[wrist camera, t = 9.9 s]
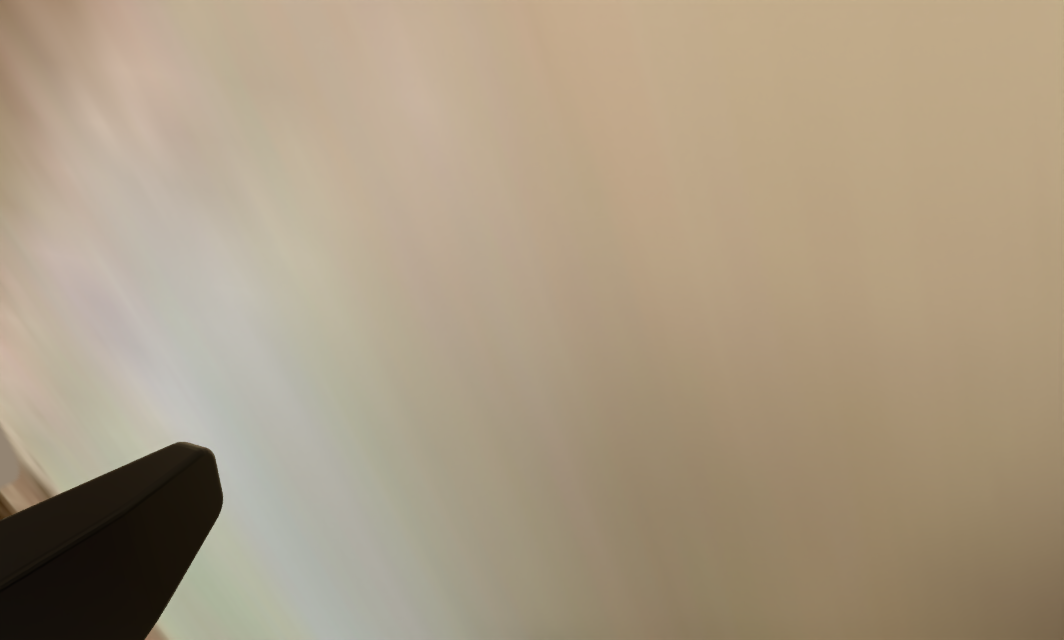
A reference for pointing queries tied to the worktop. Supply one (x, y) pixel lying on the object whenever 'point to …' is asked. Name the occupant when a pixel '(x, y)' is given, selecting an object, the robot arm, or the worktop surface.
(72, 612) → the robot arm
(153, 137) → the worktop surface
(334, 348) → the worktop surface
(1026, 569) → the worktop surface
